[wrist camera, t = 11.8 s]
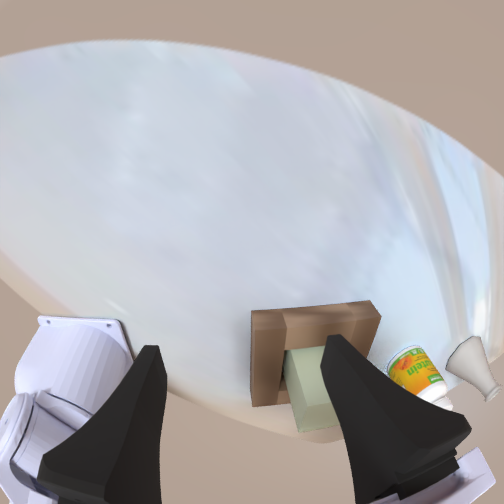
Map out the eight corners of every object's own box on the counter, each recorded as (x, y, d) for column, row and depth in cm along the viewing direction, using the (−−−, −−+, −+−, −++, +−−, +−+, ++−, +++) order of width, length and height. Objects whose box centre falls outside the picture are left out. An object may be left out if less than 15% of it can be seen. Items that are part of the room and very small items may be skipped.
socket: (249, 388, 28) (252, 407, 26) (251, 310, 23) (255, 330, 21) (344, 376, 29) (351, 392, 27) (369, 300, 24) (381, 316, 22)
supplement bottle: (424, 338, 29) (464, 393, 20) (417, 364, 31) (450, 416, 23) (388, 354, 29) (425, 416, 20) (384, 379, 31) (413, 436, 23)
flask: (484, 330, 32) (518, 369, 23) (466, 362, 35) (494, 401, 26) (457, 340, 31) (493, 386, 22) (438, 373, 34) (467, 418, 25)
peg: (281, 366, 27) (298, 432, 20) (285, 334, 25) (307, 406, 18) (323, 361, 28) (347, 423, 20) (331, 330, 26) (362, 394, 18)
